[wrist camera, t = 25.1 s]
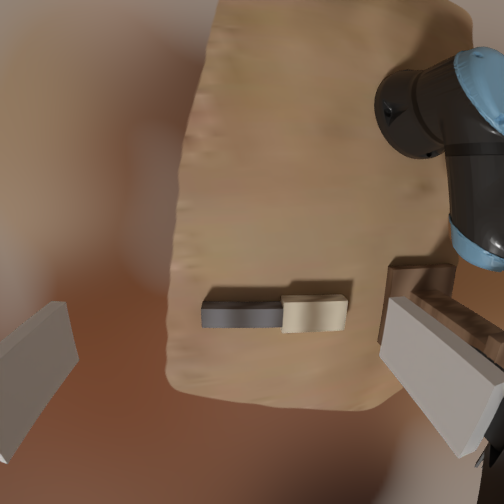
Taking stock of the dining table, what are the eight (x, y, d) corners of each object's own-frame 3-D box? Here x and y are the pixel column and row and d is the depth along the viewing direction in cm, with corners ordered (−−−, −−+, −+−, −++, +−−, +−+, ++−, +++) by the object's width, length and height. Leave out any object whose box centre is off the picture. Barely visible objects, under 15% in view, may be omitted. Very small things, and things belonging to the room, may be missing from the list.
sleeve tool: (341, 294, 49) (348, 300, 46) (338, 322, 50) (344, 330, 47) (202, 295, 48) (200, 302, 45) (203, 324, 49) (202, 333, 46)
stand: (453, 263, 50) (567, 318, 22) (440, 331, 53) (531, 408, 25) (383, 266, 48) (500, 343, 21) (372, 342, 52) (456, 447, 24)
